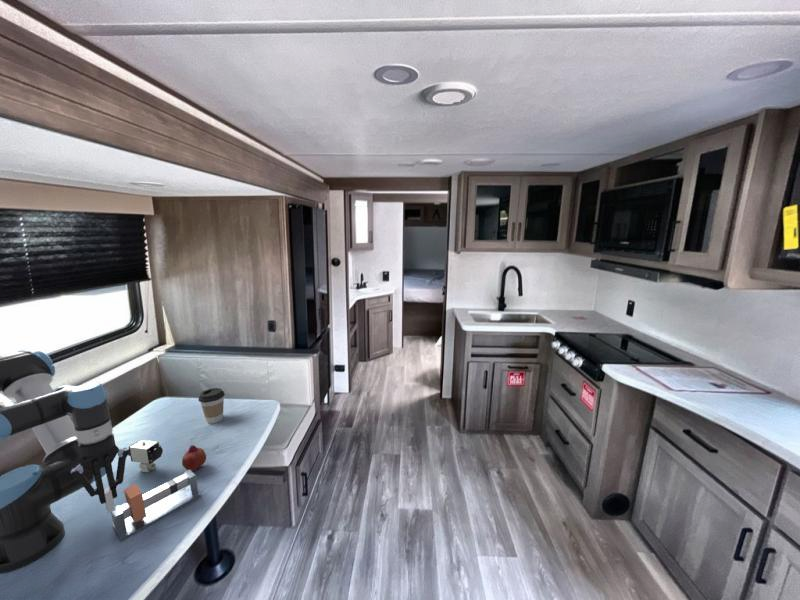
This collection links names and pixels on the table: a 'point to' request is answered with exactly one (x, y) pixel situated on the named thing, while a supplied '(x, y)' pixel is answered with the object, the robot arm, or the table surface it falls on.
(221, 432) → the table surface
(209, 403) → the coffee cup
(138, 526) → the grey rail frame
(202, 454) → the fruit
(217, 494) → the table surface
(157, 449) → the pneumatic valve
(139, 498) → the terracotta rectangular block
